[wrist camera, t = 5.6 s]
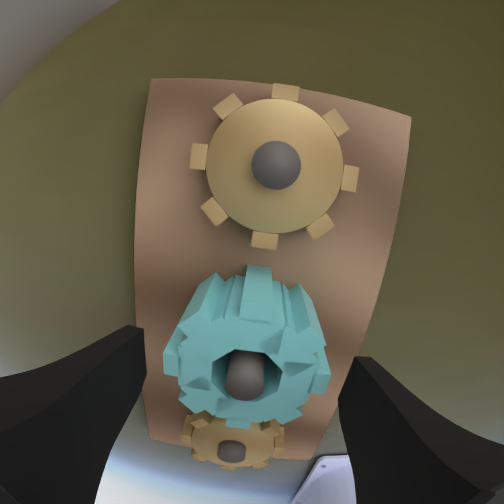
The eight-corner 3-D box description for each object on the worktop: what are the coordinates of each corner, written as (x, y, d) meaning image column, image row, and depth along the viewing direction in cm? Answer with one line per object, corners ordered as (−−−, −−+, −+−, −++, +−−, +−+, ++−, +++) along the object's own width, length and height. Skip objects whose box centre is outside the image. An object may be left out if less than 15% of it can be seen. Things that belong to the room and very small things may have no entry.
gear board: (308, 445, 16) (315, 505, 11) (155, 425, 16) (133, 481, 11) (398, 120, 10) (464, 103, 6) (161, 85, 10) (106, 48, 6)
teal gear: (301, 382, 13) (308, 433, 9) (185, 366, 13) (166, 415, 9) (329, 274, 11) (351, 314, 8) (188, 256, 11) (161, 289, 8)
